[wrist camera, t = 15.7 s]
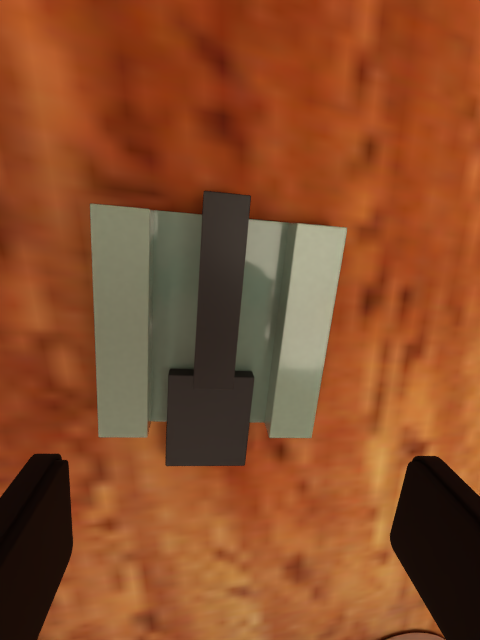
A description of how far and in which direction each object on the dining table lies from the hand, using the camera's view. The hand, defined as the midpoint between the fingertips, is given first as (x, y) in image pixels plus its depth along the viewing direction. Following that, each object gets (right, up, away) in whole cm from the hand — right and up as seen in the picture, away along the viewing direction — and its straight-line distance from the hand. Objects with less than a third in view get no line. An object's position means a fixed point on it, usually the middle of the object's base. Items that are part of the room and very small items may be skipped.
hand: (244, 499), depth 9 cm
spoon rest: (-2, +4, +13) cm, 14 cm away
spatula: (-2, +4, +12) cm, 13 cm away
